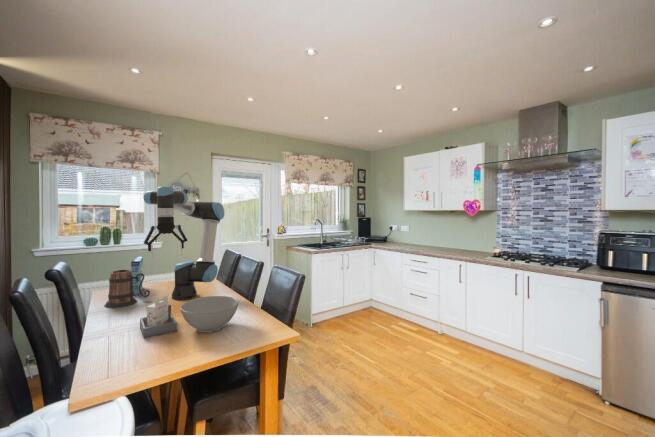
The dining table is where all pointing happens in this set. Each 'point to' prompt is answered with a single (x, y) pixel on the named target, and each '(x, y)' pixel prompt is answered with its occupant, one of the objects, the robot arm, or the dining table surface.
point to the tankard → (122, 289)
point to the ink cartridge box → (158, 312)
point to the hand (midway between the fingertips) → (166, 256)
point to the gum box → (136, 269)
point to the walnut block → (169, 308)
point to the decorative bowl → (209, 312)
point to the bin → (158, 327)
